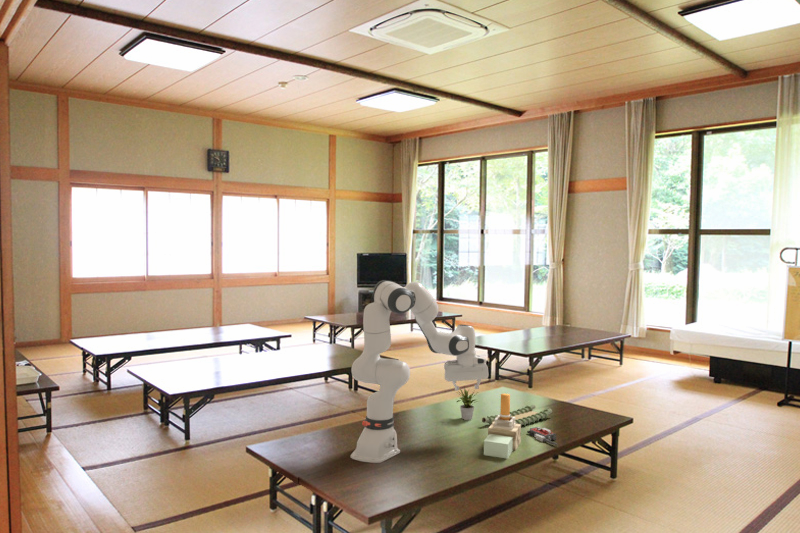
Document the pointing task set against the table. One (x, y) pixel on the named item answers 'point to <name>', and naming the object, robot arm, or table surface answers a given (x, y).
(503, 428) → the tan stepped block
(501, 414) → the orange cylinder
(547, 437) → the walkie-talkie
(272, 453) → the table surface
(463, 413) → the house plant
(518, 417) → the stretcher
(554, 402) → the table surface
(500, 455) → the block
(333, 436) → the table surface
